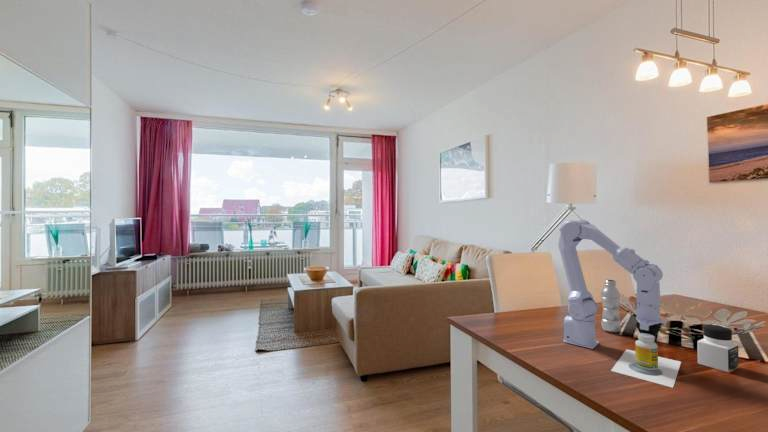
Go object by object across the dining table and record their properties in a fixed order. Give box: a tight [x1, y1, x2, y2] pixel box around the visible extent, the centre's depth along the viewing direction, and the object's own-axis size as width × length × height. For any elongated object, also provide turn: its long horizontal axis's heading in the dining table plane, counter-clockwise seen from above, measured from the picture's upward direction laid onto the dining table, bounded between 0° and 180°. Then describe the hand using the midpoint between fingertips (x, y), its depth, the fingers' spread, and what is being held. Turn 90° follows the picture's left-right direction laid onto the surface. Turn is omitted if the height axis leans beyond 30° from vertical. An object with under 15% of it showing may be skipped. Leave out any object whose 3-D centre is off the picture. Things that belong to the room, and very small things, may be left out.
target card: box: [610, 349, 682, 388], centre depth 102 cm, size 14×22×1 cm, turn 134°
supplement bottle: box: [634, 332, 659, 370], centre depth 101 cm, size 5×5×10 cm
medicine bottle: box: [696, 323, 740, 374], centre depth 102 cm, size 7×7×12 cm
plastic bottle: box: [600, 279, 622, 333], centre depth 132 cm, size 6×7×20 cm
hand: (648, 347), depth 104 cm, fingers closed
